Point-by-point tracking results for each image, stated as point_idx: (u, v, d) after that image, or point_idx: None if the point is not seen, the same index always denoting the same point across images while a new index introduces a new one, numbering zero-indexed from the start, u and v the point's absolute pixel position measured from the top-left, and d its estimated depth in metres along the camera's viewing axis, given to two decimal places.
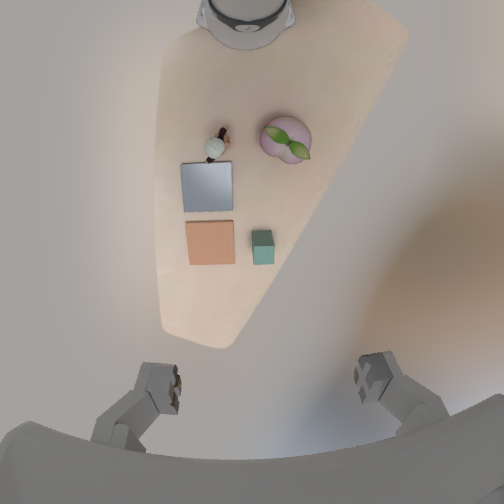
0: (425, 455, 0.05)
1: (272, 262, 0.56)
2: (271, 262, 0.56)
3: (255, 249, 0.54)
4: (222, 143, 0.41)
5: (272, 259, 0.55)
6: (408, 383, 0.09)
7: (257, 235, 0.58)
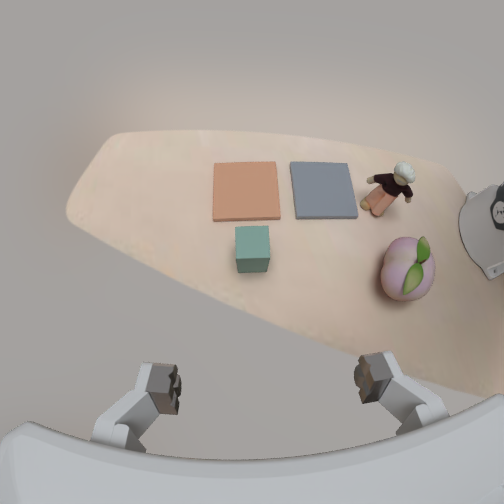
0: (425, 455, 0.05)
1: (239, 256, 0.33)
2: (239, 254, 0.33)
3: (262, 228, 0.34)
4: (414, 178, 0.32)
5: (245, 255, 0.33)
6: (408, 383, 0.09)
7: None
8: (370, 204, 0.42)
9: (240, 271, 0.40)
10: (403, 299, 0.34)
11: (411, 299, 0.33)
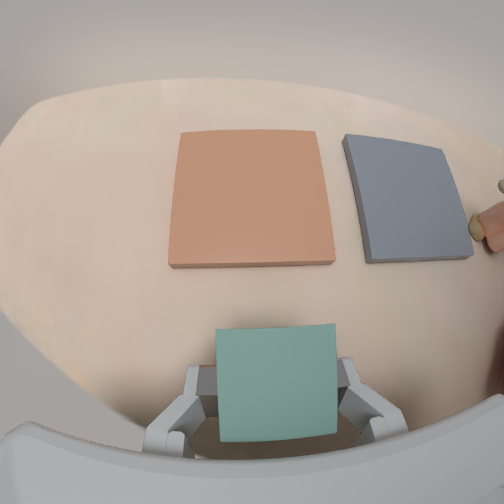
0: (425, 455, 0.05)
1: (231, 434, 0.08)
2: (231, 429, 0.08)
3: (316, 335, 0.09)
4: None
5: (252, 433, 0.08)
6: (366, 393, 0.09)
7: None
8: (487, 230, 0.17)
9: None
10: None
11: None
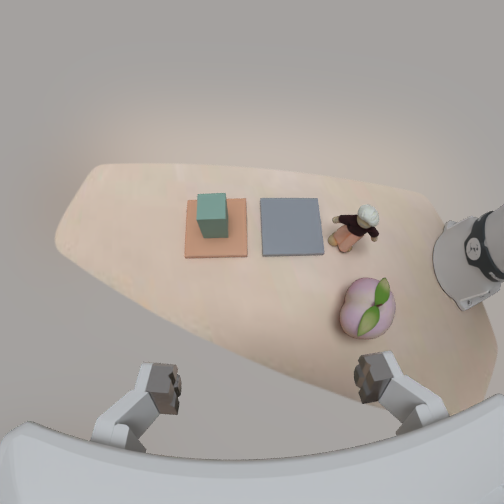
0: (425, 455, 0.05)
1: (199, 217, 0.38)
2: (199, 216, 0.38)
3: (220, 195, 0.39)
4: (376, 222, 0.35)
5: (204, 217, 0.38)
6: (408, 383, 0.09)
7: (227, 214, 0.44)
8: (337, 241, 0.45)
9: (205, 236, 0.45)
10: (360, 338, 0.37)
11: (368, 338, 0.36)
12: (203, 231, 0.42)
